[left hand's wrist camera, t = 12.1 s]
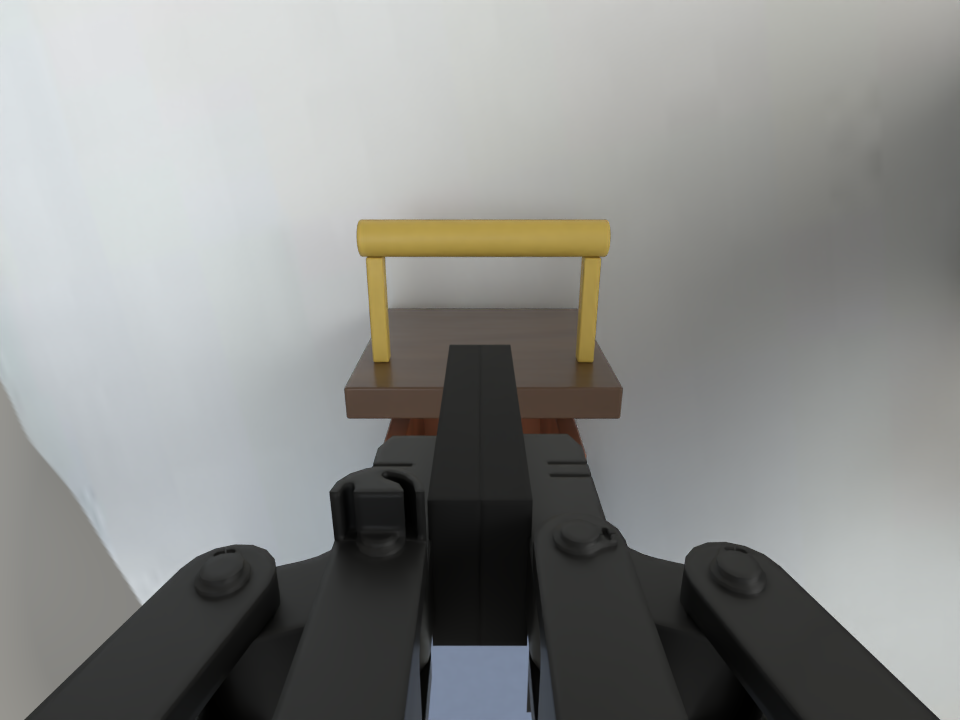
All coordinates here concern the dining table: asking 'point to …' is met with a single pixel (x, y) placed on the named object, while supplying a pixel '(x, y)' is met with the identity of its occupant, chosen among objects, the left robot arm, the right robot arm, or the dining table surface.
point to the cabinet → (479, 683)
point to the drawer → (484, 328)
